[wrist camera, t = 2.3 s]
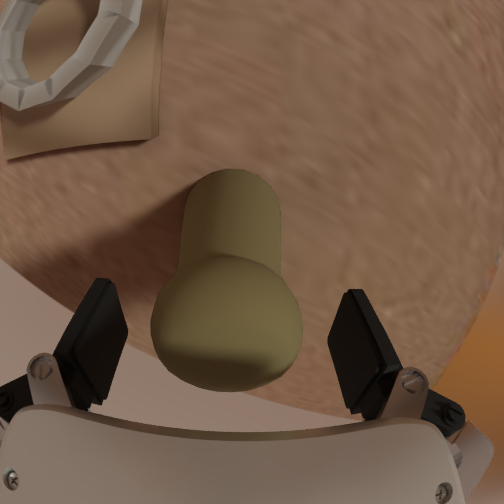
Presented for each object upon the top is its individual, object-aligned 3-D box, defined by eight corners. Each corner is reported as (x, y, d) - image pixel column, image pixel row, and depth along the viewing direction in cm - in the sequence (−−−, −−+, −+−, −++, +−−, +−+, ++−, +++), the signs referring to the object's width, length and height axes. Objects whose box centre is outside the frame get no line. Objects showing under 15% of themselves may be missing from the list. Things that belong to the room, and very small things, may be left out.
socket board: (35, -27, 5) (5, -36, 1) (185, -77, 5) (173, -106, 2) (17, 154, 13) (-18, 172, 10) (158, 135, 14) (134, 148, 11)
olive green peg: (178, 246, 18) (135, 395, 9) (193, 159, 15) (119, 275, 6) (265, 263, 19) (284, 414, 10) (292, 182, 16) (362, 316, 7)
